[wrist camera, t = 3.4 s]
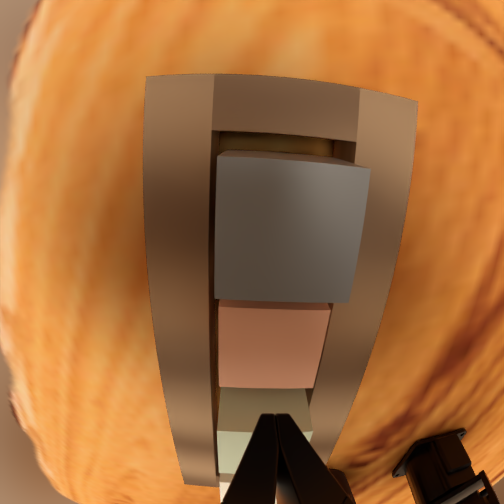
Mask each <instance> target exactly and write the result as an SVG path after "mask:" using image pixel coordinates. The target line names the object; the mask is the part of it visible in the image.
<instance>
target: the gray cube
mask: <svg viewBox="0 0 504 504" xmlns="http://www.w3.org/2000/svg"><path fill="white" fill-rule="evenodd" d="M370 172H371V169H369V168H366V167H363V166H360V165H357V164H354V163H351V162H347V161H344V160H341V159H337V158H334V157H327V156H317V155H307V154H296V153H284V152H270V151H254V150H232V149H227V150H226V151H224V152H223V153H221V154H220V155H218V156H217V176H216V210H215V271H214V299H227V300H248V301H273V302H309V303H349V299H350V294H351V290H352V285H353V280H354V275H355V270H356V264H357V259H358V254H359V248H360V242H361V236H362V230H363V224H364V217H365V210H366V203H367V196H368V188H369V180H370Z"/></svg>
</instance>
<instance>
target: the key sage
mask: <svg viewBox="0 0 504 504" xmlns="http://www.w3.org/2000/svg"><path fill="white" fill-rule="evenodd" d="M262 413H273V414H276V413H288V414H290V415H291V417H292V418H293V420H294V421H295V422H296V424H297V425H298V427H299V428H300V430H301V431H302V433H303V434H304V435H305V437H306V438H307V440H308V441H309V442H310V439H311V436H312V433H313V428H312V422H311V417H310V412H309V407H308V402H307V397H306V391H305V388H290V389H274V388H236V387H221V391H220V402H219V413H218V424H217V444H218V465H219V473H231V474H235V472H236V470H237V468H238V465H239V463H240V461H241V459H242V456H243V454H244V452H245V450H246V447H247V445H248V443H249V440H250V438H251V436H252V433H253V431H254V429H255V426H256V424H257V421H258V419H259V417H260V415H261V414H262Z"/></svg>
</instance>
